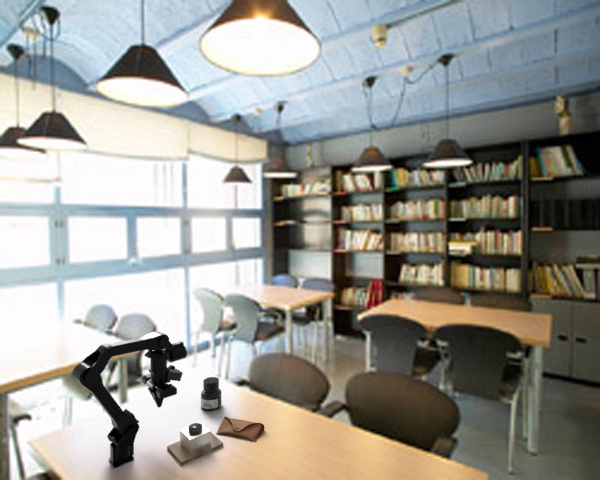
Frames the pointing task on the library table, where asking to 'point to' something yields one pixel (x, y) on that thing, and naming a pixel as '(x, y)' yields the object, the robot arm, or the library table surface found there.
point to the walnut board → (185, 457)
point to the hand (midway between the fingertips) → (159, 406)
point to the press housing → (195, 439)
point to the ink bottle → (211, 394)
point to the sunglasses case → (240, 429)
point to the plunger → (195, 428)
